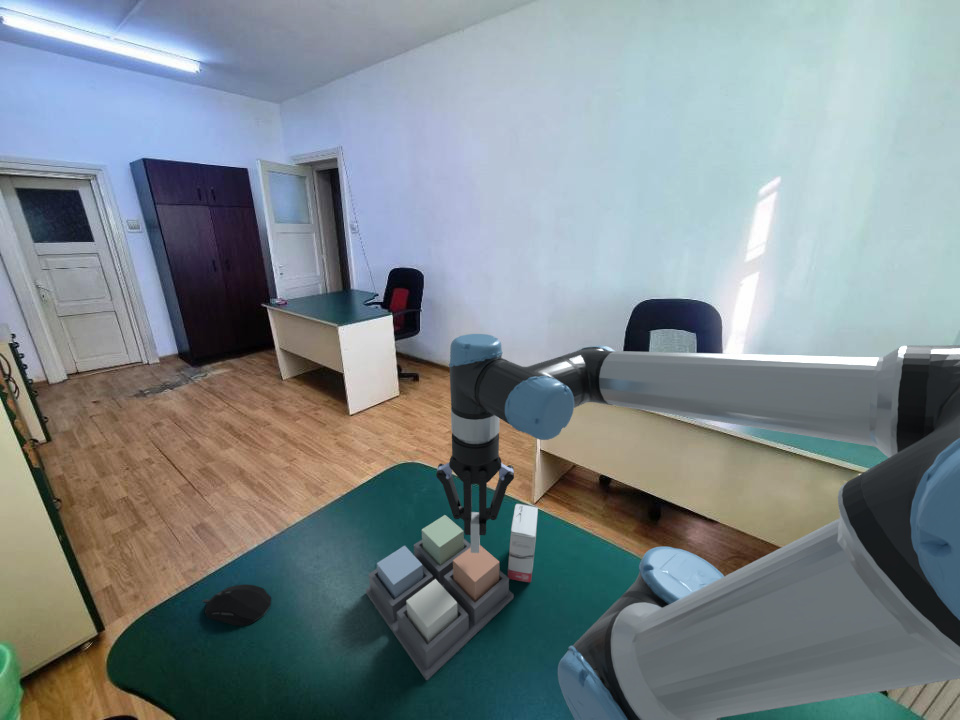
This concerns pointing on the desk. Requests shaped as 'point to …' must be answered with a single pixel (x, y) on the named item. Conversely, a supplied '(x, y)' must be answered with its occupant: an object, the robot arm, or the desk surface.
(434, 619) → the key ivory
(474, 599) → the key terracotta
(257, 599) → the gaming mouse
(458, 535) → the key sage
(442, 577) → the keypad
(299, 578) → the desk surface
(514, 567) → the ink box
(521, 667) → the desk surface
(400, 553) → the key slate
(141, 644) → the desk surface
